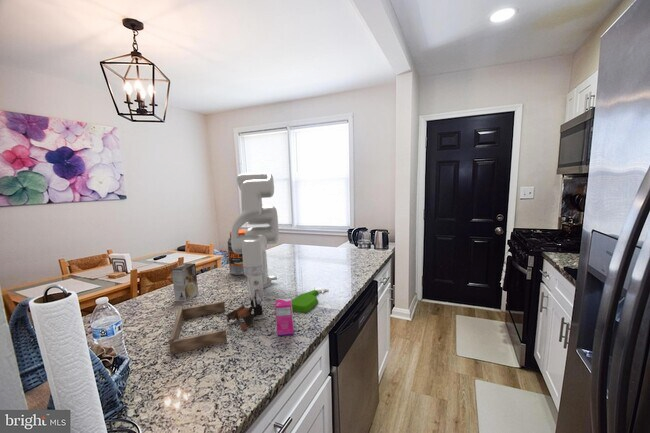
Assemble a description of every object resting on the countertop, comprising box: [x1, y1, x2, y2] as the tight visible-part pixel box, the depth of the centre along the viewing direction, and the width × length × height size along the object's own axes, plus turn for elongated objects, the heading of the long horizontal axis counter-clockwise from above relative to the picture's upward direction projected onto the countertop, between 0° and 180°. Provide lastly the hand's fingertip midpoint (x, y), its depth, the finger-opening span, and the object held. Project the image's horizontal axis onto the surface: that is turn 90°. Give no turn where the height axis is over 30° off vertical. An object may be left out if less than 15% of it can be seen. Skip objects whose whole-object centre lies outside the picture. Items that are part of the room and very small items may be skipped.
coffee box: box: [171, 262, 199, 302], centre depth 132 cm, size 9×6×16 cm
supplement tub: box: [227, 229, 247, 276], centre depth 169 cm, size 16×16×26 cm
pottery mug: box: [226, 304, 256, 331], centre depth 105 cm, size 12×10×8 cm
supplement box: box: [274, 297, 295, 337], centre depth 97 cm, size 6×6×12 cm
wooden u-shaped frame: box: [168, 300, 228, 355], centre depth 102 cm, size 17×26×5 cm, turn 22°
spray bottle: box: [292, 287, 329, 313], centre depth 124 cm, size 3×11×24 cm
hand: (256, 310), depth 110 cm, fingers open, 9 cm apart
